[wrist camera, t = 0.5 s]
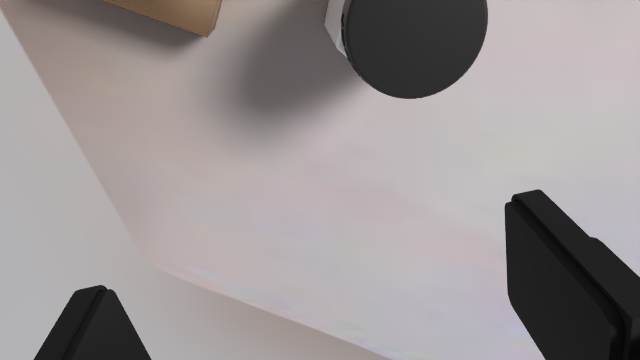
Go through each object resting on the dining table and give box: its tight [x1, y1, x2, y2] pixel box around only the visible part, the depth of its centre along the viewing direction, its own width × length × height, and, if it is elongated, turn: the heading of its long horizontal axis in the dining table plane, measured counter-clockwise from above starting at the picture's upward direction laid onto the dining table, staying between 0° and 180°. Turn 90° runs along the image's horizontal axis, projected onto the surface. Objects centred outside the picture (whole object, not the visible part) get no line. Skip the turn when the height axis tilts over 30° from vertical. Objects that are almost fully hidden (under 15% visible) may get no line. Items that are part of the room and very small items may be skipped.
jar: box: [324, 0, 488, 99], centre depth 31 cm, size 9×8×12 cm
